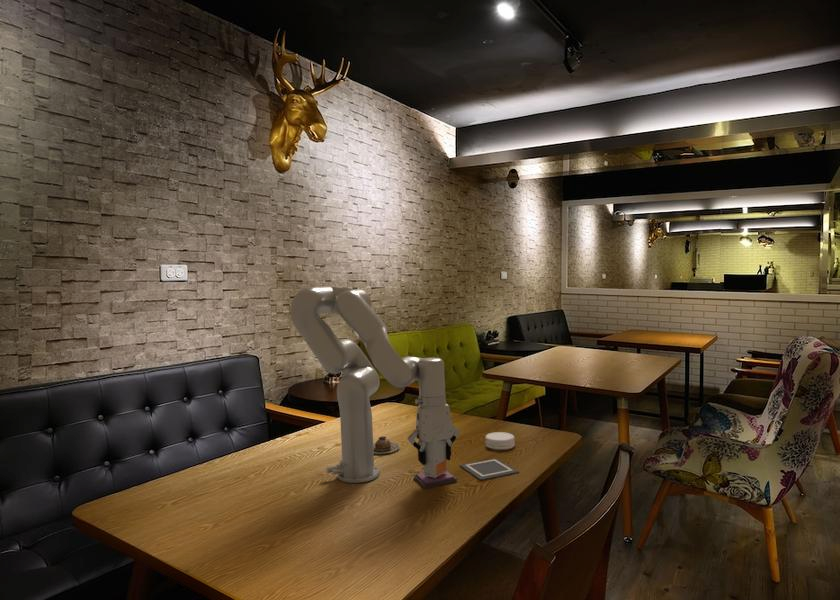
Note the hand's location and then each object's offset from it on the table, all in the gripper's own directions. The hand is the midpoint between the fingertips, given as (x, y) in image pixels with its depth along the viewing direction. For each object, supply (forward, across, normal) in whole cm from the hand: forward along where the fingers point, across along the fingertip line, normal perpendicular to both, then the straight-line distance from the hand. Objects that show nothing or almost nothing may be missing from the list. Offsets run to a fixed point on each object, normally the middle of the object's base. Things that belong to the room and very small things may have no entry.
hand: (435, 460), depth 155 cm
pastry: (+6, -5, +34) cm, 35 cm away
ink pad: (+6, 0, 0) cm, 6 cm away
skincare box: (+4, 0, 0) cm, 4 cm away
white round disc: (+6, +33, +18) cm, 38 cm away
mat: (+6, +18, 0) cm, 19 cm away
